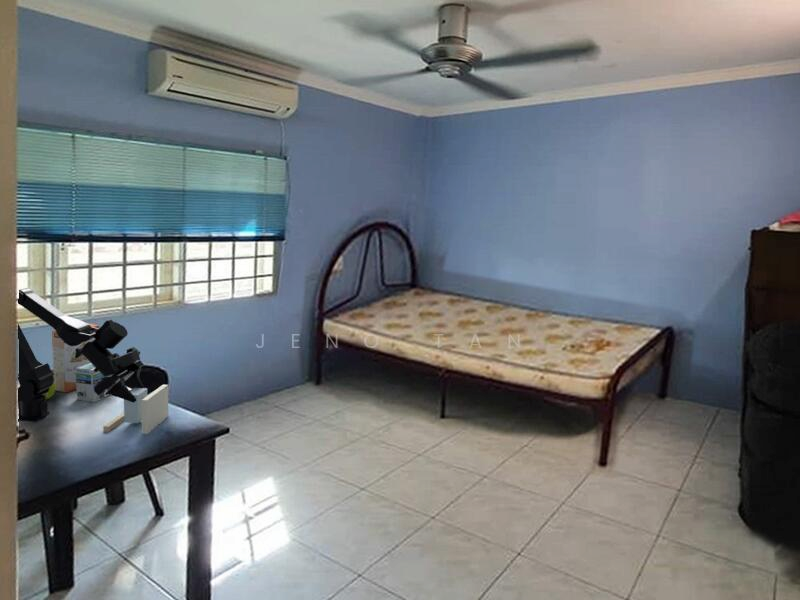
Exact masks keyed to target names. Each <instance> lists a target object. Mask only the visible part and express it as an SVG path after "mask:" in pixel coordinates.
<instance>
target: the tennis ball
mask: <svg viewBox="0 0 800 600" xmlns="http://www.w3.org/2000/svg"><path fill="white" fill-rule="evenodd" d="M55 389H56V387H55V384H54V382H53V385H52V386H51V387H50V389H49V392H48V393H45V394H43V395H45V399H46V400H48V399H50V398H52V397H53V396H54V395H55V393H56V390H55Z"/></svg>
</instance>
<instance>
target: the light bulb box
mask: <svg viewBox="0 0 800 600" xmlns="http://www.w3.org/2000/svg"><path fill="white" fill-rule="evenodd" d="M94 369H95V367H94V365H93V364H92V363H89V364H86V365H83V366H81V367H78V368H76V400H78V401H84V402H91V403H95V402H97V401H99V400H103V399H104V397H105V398H106V397H109V396H110V395H109V394H107V395H106V394H105V393H106V392H107V391H108V390H107V389H106V390H105V392H104V393H103V394H101V395H100V396H98V395H97V394H96V393H95V392H94V386H95V385H96V384H98V383H99V382H100V381H101V380H102V379H103V378H104V376H103V375H102V374H101V373H100V372H99V371H98V372H95V371H94Z"/></svg>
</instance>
